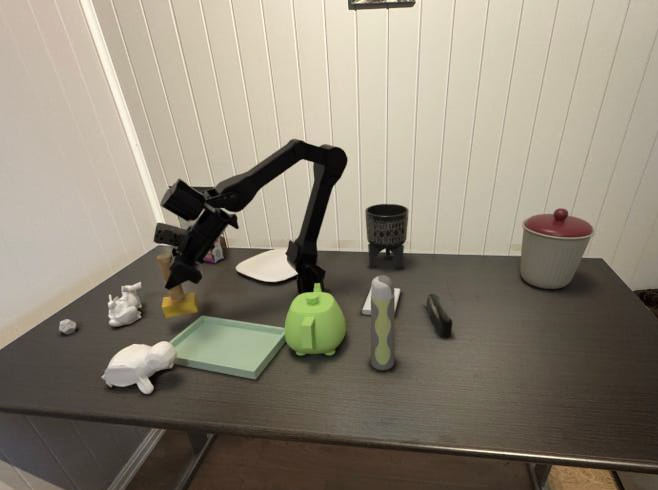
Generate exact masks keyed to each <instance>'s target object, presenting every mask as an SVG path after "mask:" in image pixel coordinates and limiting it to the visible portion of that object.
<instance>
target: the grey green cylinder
mask: <svg viewBox="0 0 658 490" xmlns="http://www.w3.org/2000/svg"><path fill="white" fill-rule="evenodd" d="M371 287H372V290H371V315H370V365H371V366H372V367H373V368H374V369H375V370H377V371H388V370H390V369H391V368H393V366H394V365H395V315H394V309H395V295H394V288H395V285H394V282H393V280H392V279H391V278H390V277H389V276H388V275H384V274H381V275H377V276H375V277H374V278H373V279H372V281H371Z"/></svg>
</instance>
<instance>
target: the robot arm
mask: <svg viewBox="0 0 658 490" xmlns="http://www.w3.org/2000/svg"><path fill="white" fill-rule="evenodd" d="M348 160H349V158H348V156H347V153H346V152H345V150H344V149H343V148H341V147H339V146H335V145H331V144H327V143H324V144H321V145H319V146H318V145H314V144H311V143H309V142H305V141H304V140H301V139H298V138H291V139H289V141H288V142H287V143H286V144H285V145H283V146H282V147H280V148H279V149H278V150H276V151H275V152H273V153H272V154H270V155H269V156H267V157H266V158H265V159H263V160H261V161H260V162H258V163H257V164H255V165H254V166H253V167H251V168H250V169H249V170H247V171H244V172H243V173H239V174H236V175H233V176H230V177H228V178H225V179H223V180H221V181H220V182H219V183H218V184H216V185H215V187H213V188H208V189H206V190H203V191H198V190H197V189H195V187H194V188H193V186H191V185H189V184H188V183H187V182H186V181H185V180H183V179H181V178H178V179H177V180H176V182H175V183H173V184H172V185H171V186H170V188H167V189H166V190H165V193H164V194H163V196H162V199H161V201H160V204H159V205H160V207H162V208H164V209H165V210H167V211H168V212H170V213H172V214H174V215H175V216H177V217H178V216H179V217H180V218H182V219H184V220H186V221H189V220H190V219H191V220H192V221H193V220H196V219H197V218H198V217H199V215H200V214H201V212H202V211H203V210H204V211H203V212H202V214H201V215H200V217H199V218H198V219H197V221H196V222H195V224H194V225H191V226H189V227H188V228H187V229H186V230H185V229H182V228H181V227H180V226H175V225H173V224H167V223H164V222H157V223H156V225H155V229H154V235H153V240H152V241H153V243H155V244H158V245H166V246H172V248H171V255H172V258H173V259H170V266H169V269H170V270H171V273H170V276H169V278H168V280H167V282H166V283H165V285H164V288H165V289H166V290H167V291H168V290H170V289H172V288H174V287H176V286H178V285H180V284H181V285H182V284H184V283H186V282H188V281H189V282H190V283H193V284H195V285H198V284H199V283H200V281H202V279H203V273H204V271H203V267H202V266H201V265H204V263H205V262H204V261H205V256H206V255H207V254H208V252H209V251H210V250H211V249H212V250H213V249H214V248H215V243H216V242H217V240H218V239H219V238H221V236H223V233H224V232H225V231H226V229H227V228H228V227H229V226H231V227H232V228H233V229H235V230H239V229H240V226H239V222H238V215H237V214H236V213H240V212H241V211H243V210H244V209H245V208H247V206H248V205H249V204H250V203H251V202H252V201H253V200H254V198H255V197H256V195H257V194H258V192H259V191H260V190H261V189H262V188H264V187H265V186H266V185H268V184H270V183H271V182H272V181H274V180H275V179H276V178H278V177H279V176H280V175H282V174H284V173H285V172H286V171H287V170H289V169H290V168H292V167H293V166H295V165H296V164H297V163H298V162H300V161H307V162H310V163H313V165H312V170H313V171H312V172H313V184H312V188H311V192H310V195H309V198H308V202H307V206H306V210H305V213H304V217H303V220H302V224H301V228H300V231H299V235H298V236H297V238H296V239H295V240H291V239H290V240H288V245H287V249H288V250H287V252H286V253H285V254H286V255H287V262H288V263H289V265H290V266H291V267H292V268H293V269H294V270H295V271H296V272H297V273H298V275H296V277H297V278H296V281H295V282H296V288H297V293H298V295H300V294H302V293H309V292H314V285H315V283H320V286H321V290H322V292H324V293H327V292H328V289H327V288H325V280H324V279H325V278H326V273H327V271H326V270H325V269H324V268H323V267H322V266H321V265H320V264H318V255H319V253H318V239H319V235H320V232H321V229H322V226H323V222H324V218H325V215H326V212H327V209H328V205H329V202H330V199H331V195H332V191H333V188H334V186H335V185H336V184H337V183H338V182H339V180H340V179H341V178H342V176H343V174H344V172H345V170H346V168H347V165H348ZM225 210H226V211H225ZM228 212H230V213H228ZM198 263H199V264H198ZM200 264H201V265H200Z"/></svg>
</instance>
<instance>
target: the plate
mask: <svg viewBox="0 0 658 490" xmlns="http://www.w3.org/2000/svg"><path fill="white" fill-rule="evenodd" d="M287 250H288V248H275V249H270V250H267V251H264V252H261V253H259V254H256V255H254V256H252V257H249V258H247V259H244V260H243V261H241V262H238V264H237V265H236V266H235V270H236V272H238V273H240V274H241V275H243V276H246V277H248V278H251V279H253V280H257V281H261V282H264V283H278V282H284V281H287V280H290V279H291V278H294V277H297V276H298V275H299V274H298V273H297V272H296V271H295V270H294V269H293V268H292V267H291V266H290V265H289V263H288V262H287V255H286V254H285V253H286V252H287Z"/></svg>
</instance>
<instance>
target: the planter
mask: <svg viewBox="0 0 658 490" xmlns="http://www.w3.org/2000/svg"><path fill="white" fill-rule="evenodd" d="M409 212H410V211H409V208H408V207H406V206H404V205H402V204H396V203H379V204H374V205H370V206H368V207H366V209H365V210H364V214H365V227H366V228H365V229H366V240H367V242H368V244H367V250H368V264H369V268H370V269H374V268H375V266H376V265H375V264H376V261H377V258H378V256H379V254H380V253H381V252H382V251H383V250H385V259H387V260H389V259H391V253H392V255H393V256H394V259H395V262H396V269H397V270H402V269H403V265H404V264H403V263H404V250H405V249H404V248H405V245H404V244H405V243H406V242H407V237H408V236H407V235H408V223H409Z"/></svg>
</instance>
